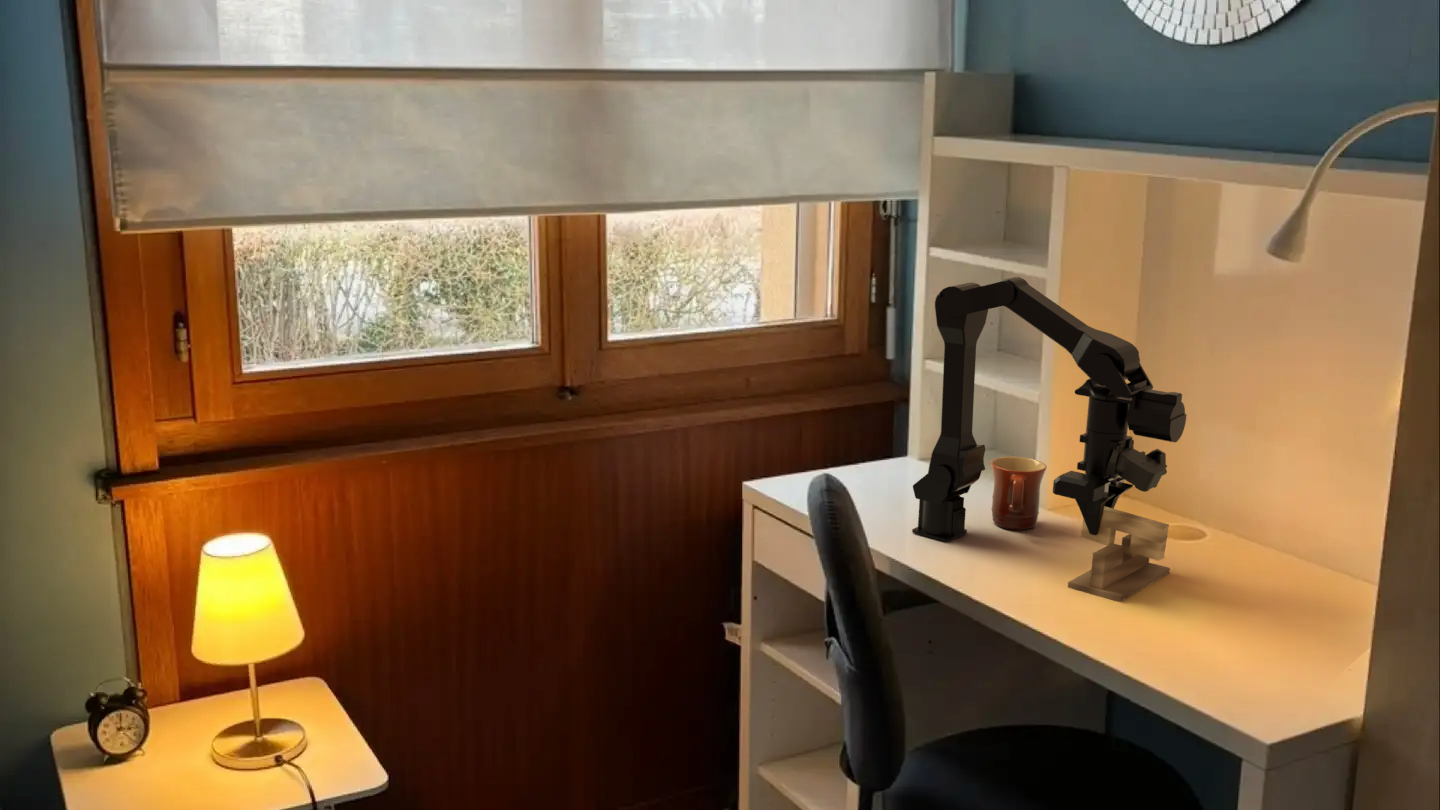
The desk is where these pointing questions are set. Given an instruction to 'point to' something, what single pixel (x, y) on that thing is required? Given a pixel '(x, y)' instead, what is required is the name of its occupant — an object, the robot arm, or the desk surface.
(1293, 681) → the desk surface
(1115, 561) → the joint base
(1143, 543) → the oak plate
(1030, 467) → the mug
